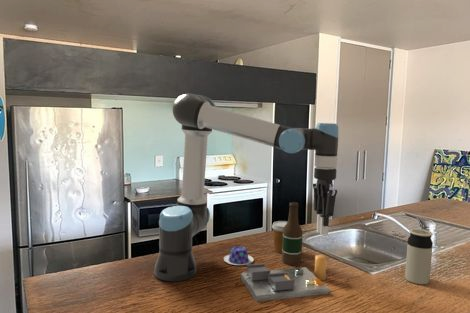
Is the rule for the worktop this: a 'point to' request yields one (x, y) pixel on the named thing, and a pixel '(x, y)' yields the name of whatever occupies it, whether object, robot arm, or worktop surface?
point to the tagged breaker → (280, 281)
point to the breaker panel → (303, 287)
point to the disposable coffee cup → (278, 234)
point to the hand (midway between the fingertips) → (322, 233)
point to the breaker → (257, 271)
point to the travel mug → (419, 256)
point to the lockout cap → (320, 267)
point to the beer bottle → (292, 238)
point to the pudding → (238, 256)
